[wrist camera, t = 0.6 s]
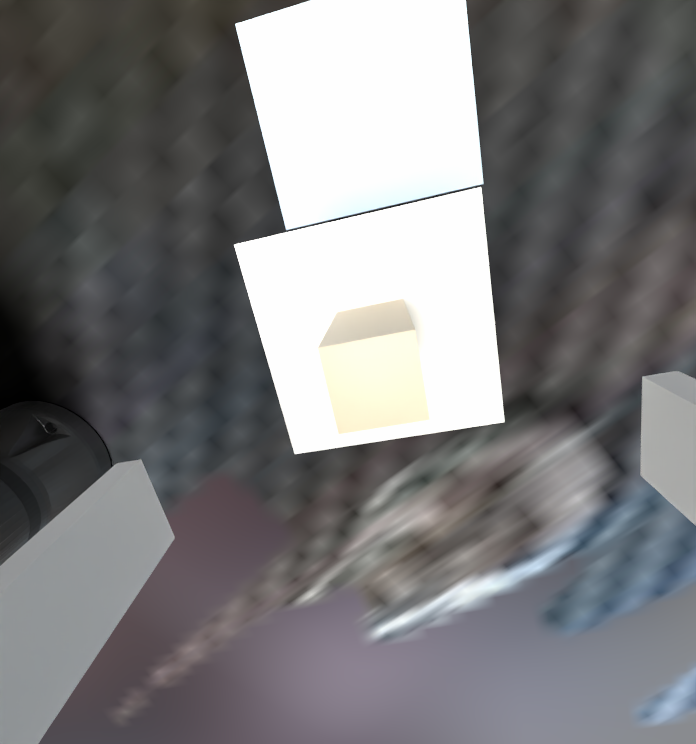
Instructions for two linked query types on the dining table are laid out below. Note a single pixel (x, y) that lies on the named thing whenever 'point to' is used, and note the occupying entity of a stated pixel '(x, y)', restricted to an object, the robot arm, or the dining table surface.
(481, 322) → the lid
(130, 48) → the dining table surface
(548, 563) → the dining table surface
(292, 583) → the dining table surface
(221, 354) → the dining table surface
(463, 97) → the mat
